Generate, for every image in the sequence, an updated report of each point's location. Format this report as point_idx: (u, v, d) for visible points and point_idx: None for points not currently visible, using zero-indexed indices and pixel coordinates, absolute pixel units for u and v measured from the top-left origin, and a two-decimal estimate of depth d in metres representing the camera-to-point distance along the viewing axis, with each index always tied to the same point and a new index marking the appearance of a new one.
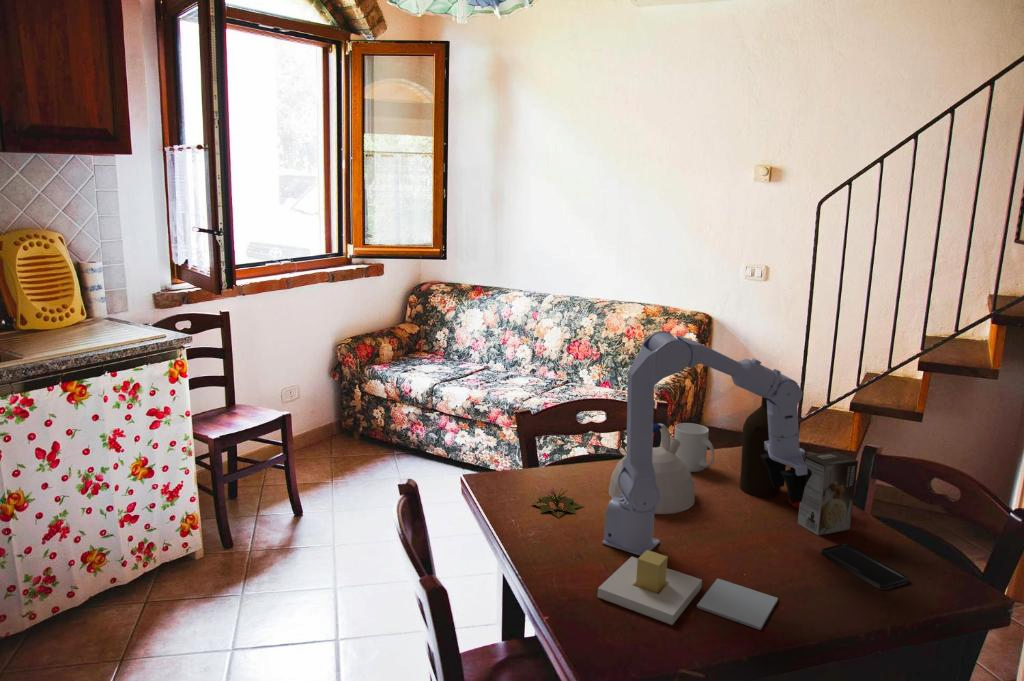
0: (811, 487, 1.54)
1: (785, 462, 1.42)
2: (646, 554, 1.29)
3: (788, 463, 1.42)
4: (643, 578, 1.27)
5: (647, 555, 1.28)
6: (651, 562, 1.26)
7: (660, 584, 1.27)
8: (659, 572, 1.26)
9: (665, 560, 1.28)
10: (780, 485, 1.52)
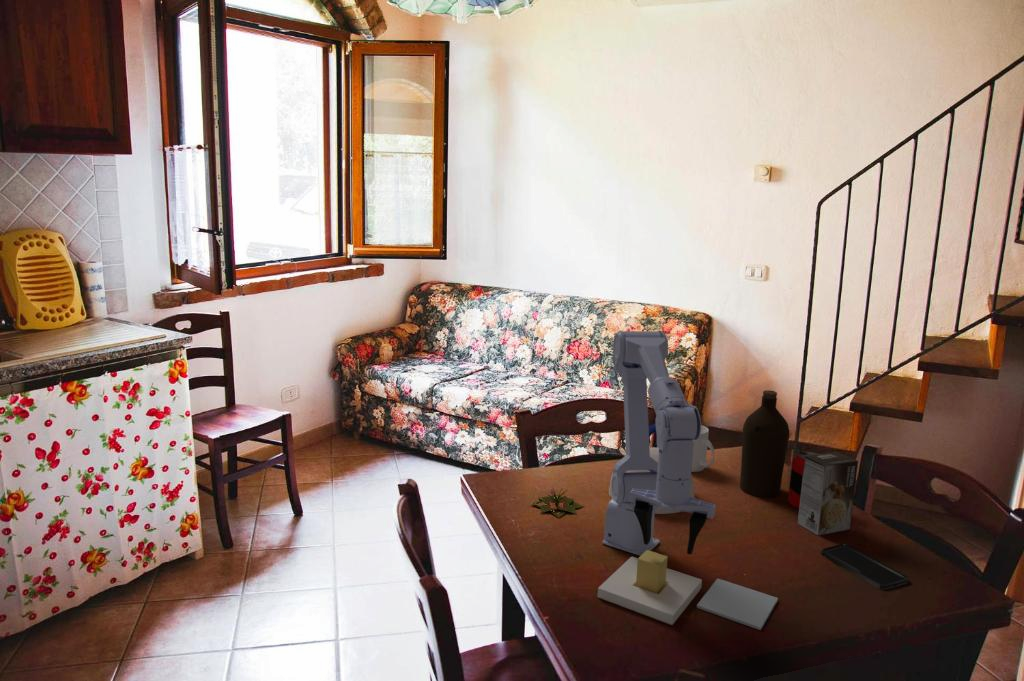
0: (811, 487, 1.54)
1: None
2: (646, 554, 1.29)
3: None
4: (643, 578, 1.27)
5: (647, 555, 1.28)
6: (651, 562, 1.26)
7: (660, 584, 1.27)
8: (659, 572, 1.26)
9: (665, 560, 1.28)
10: None
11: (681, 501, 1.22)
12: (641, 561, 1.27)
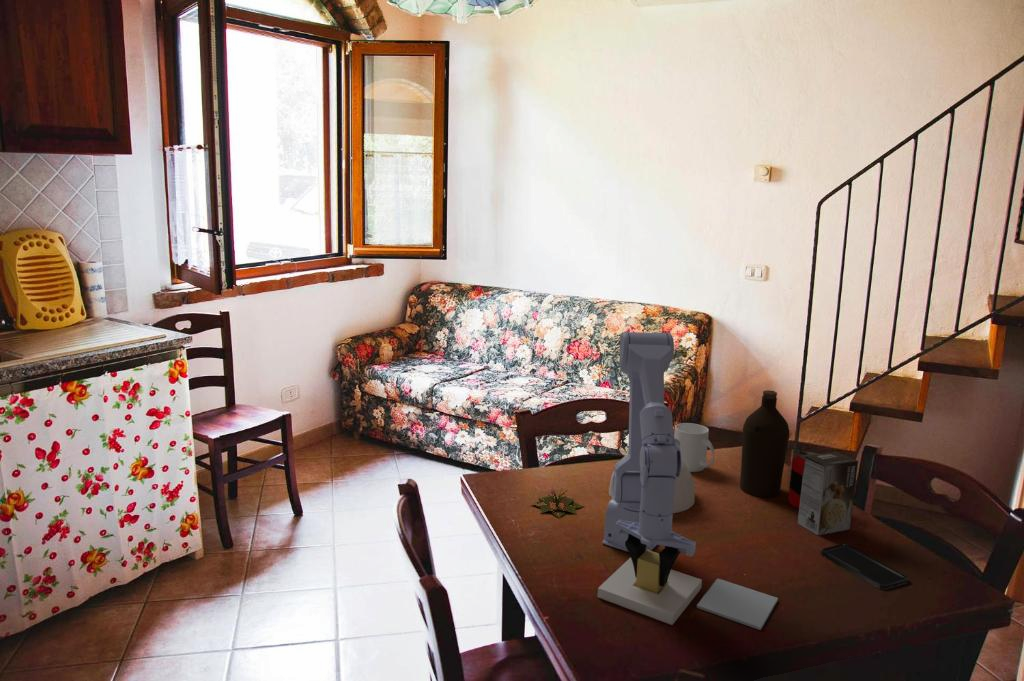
0: (811, 487, 1.54)
1: None
2: (646, 554, 1.29)
3: None
4: (643, 578, 1.27)
5: (647, 555, 1.28)
6: (651, 562, 1.26)
7: None
8: (659, 572, 1.26)
9: None
10: None
11: (660, 537, 1.24)
12: (641, 561, 1.27)
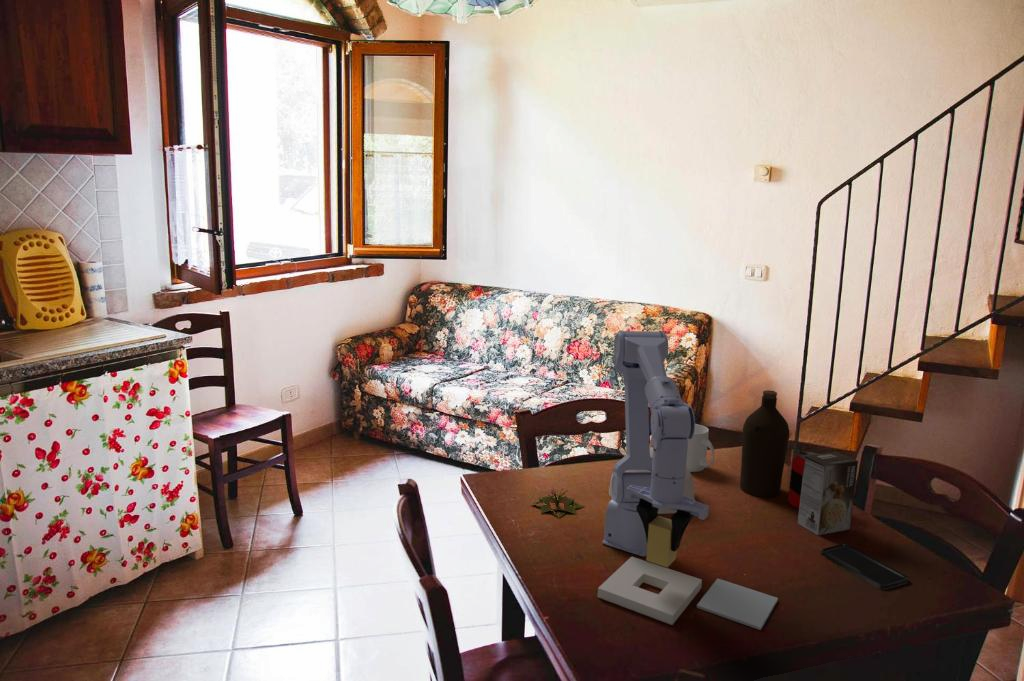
0: (811, 487, 1.54)
1: None
2: (657, 519, 1.27)
3: None
4: (654, 544, 1.26)
5: (658, 521, 1.27)
6: (662, 527, 1.24)
7: None
8: (671, 537, 1.24)
9: None
10: None
11: (673, 500, 1.22)
12: (652, 526, 1.25)
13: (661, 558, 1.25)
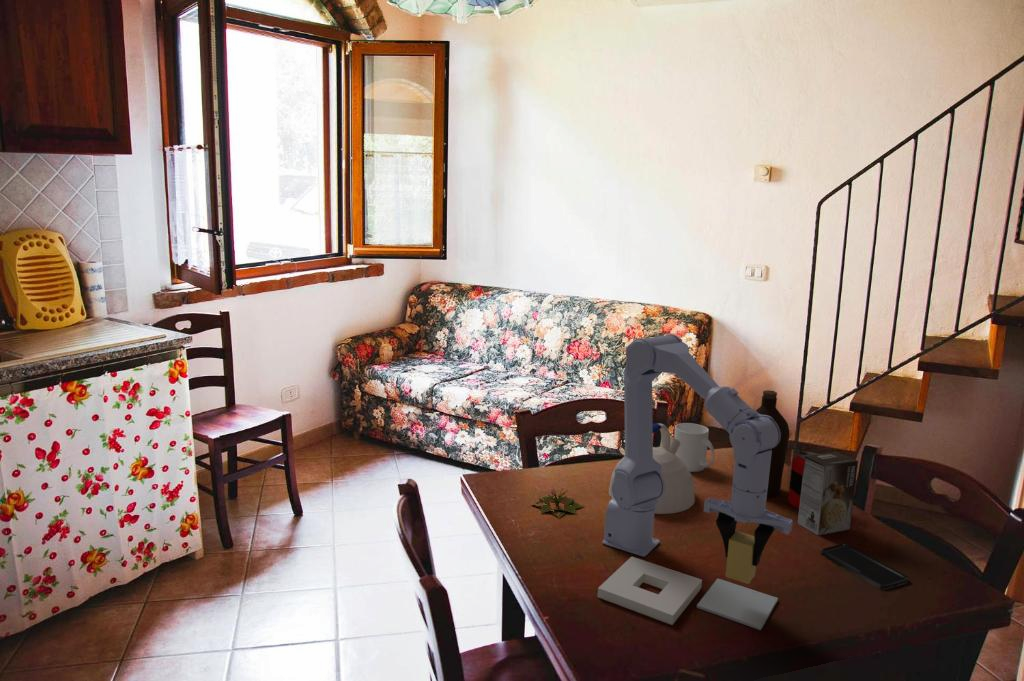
0: (811, 487, 1.54)
1: None
2: (737, 535, 1.25)
3: None
4: (735, 560, 1.23)
5: (738, 536, 1.24)
6: (744, 543, 1.22)
7: (752, 565, 1.23)
8: (752, 554, 1.22)
9: None
10: None
11: (756, 514, 1.20)
12: (733, 542, 1.23)
13: (742, 575, 1.23)
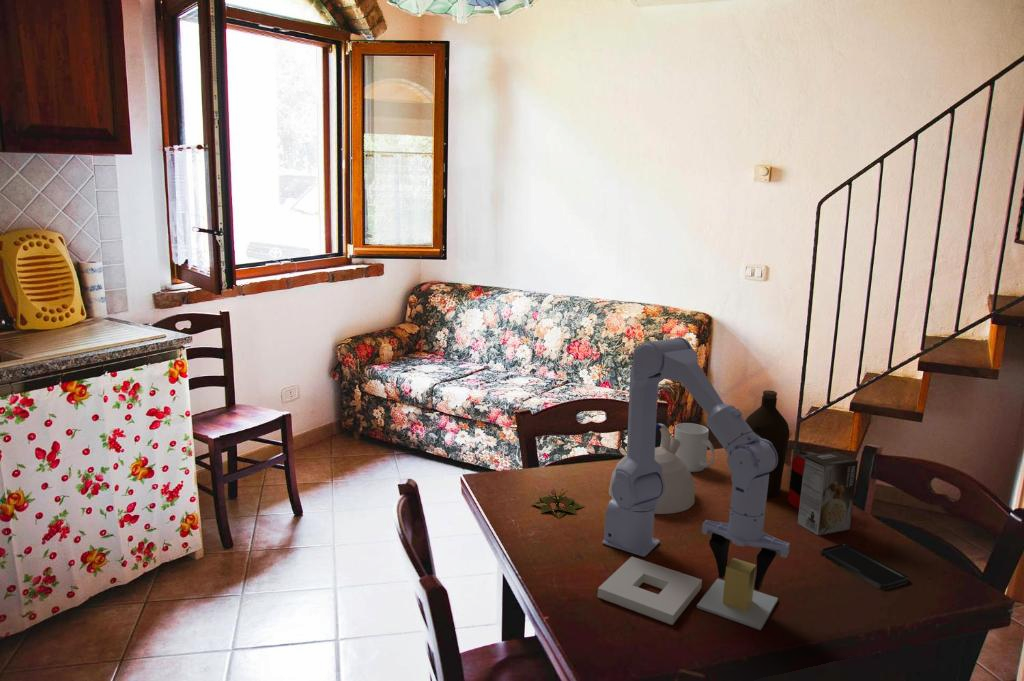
0: (811, 487, 1.54)
1: None
2: (734, 562, 1.26)
3: None
4: (732, 587, 1.24)
5: (735, 564, 1.25)
6: (740, 570, 1.23)
7: (749, 593, 1.24)
8: (749, 581, 1.23)
9: (754, 568, 1.25)
10: None
11: (753, 537, 1.21)
12: (730, 569, 1.24)
13: (739, 602, 1.24)
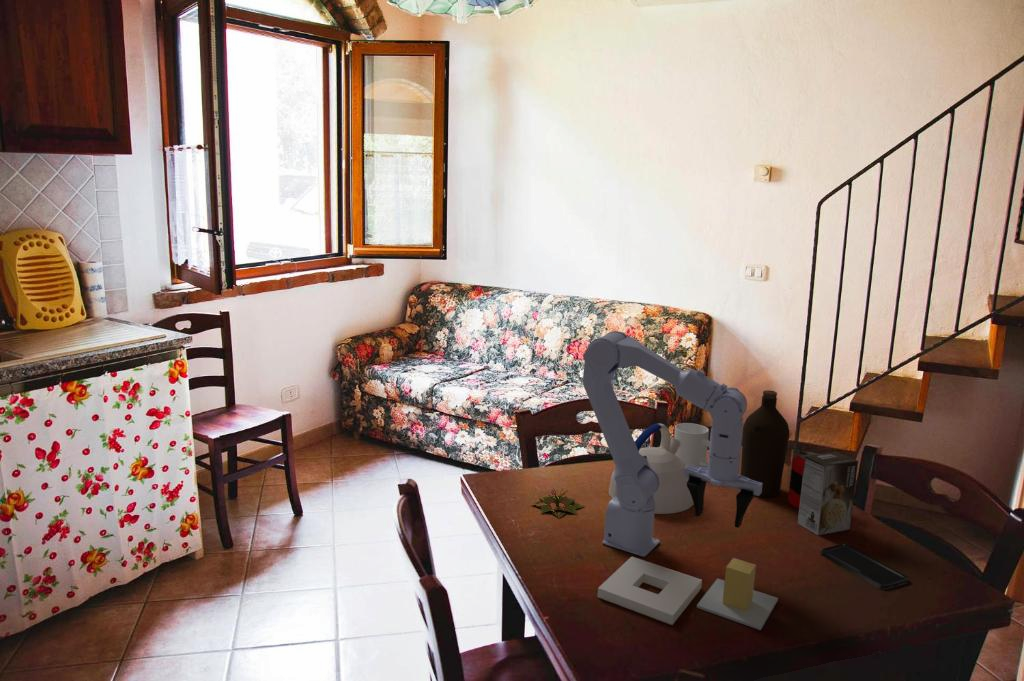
0: (811, 487, 1.54)
1: None
2: (734, 562, 1.26)
3: None
4: (732, 587, 1.24)
5: (735, 564, 1.25)
6: (740, 570, 1.23)
7: (749, 593, 1.24)
8: (749, 581, 1.23)
9: (754, 568, 1.25)
10: None
11: (729, 478, 1.33)
12: (730, 569, 1.24)
13: (739, 602, 1.24)
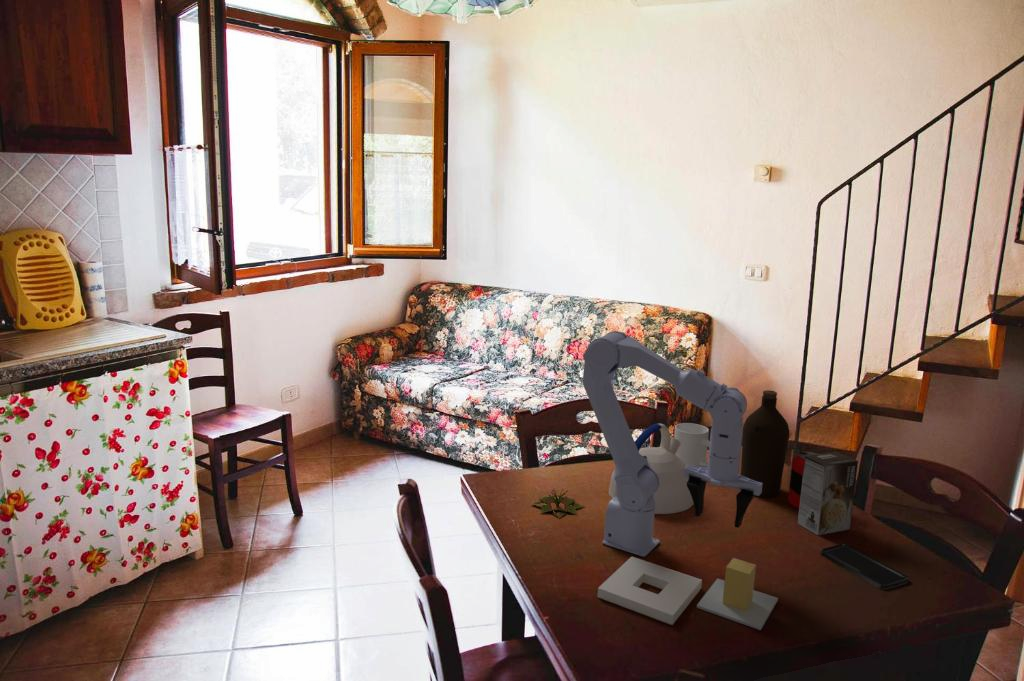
0: (811, 487, 1.54)
1: None
2: (734, 562, 1.26)
3: None
4: (732, 587, 1.24)
5: (735, 564, 1.25)
6: (740, 570, 1.23)
7: (749, 593, 1.24)
8: (749, 581, 1.23)
9: (754, 568, 1.25)
10: None
11: (729, 478, 1.33)
12: (730, 569, 1.24)
13: (739, 602, 1.24)
